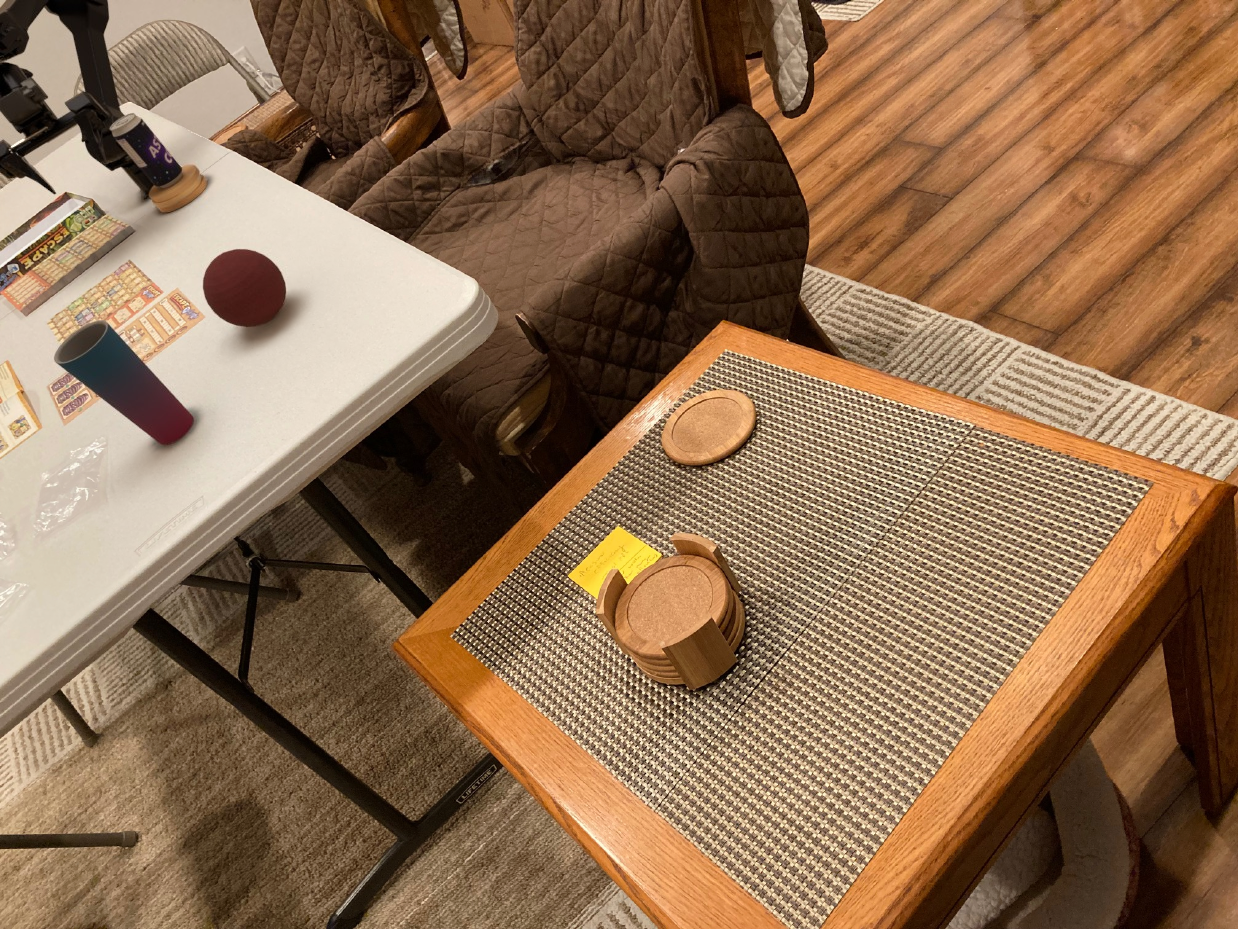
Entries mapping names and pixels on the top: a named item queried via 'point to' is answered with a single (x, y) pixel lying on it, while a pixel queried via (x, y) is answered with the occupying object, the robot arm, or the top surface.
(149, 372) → the cup
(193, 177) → the coaster pile
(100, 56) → the robot arm
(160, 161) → the beverage can
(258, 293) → the decorative ball
